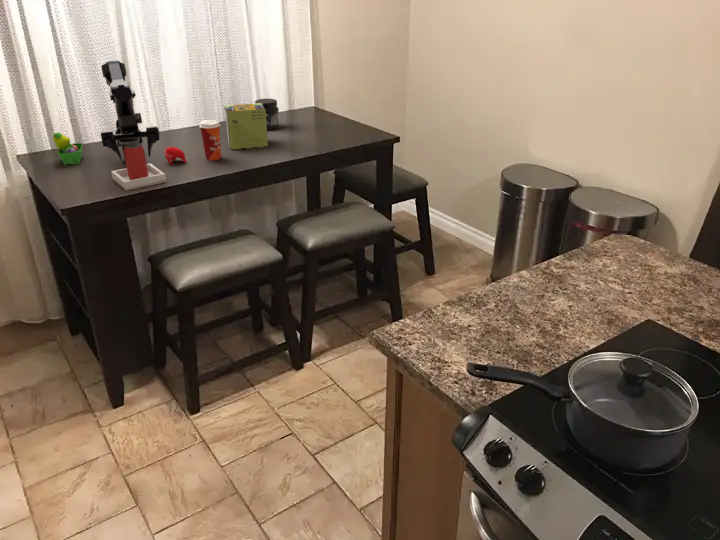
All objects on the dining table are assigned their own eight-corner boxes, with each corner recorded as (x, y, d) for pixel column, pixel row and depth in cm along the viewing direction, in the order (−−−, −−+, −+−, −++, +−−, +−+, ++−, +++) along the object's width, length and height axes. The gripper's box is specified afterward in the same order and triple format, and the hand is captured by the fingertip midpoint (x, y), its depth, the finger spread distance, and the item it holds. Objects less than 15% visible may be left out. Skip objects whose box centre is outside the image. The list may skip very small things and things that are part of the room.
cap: (161, 157, 223) (174, 149, 222) (161, 148, 227) (174, 140, 226) (176, 171, 229) (189, 163, 228) (176, 161, 233) (188, 153, 232)
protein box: (268, 146, 247) (265, 108, 239) (230, 150, 243) (226, 111, 235) (264, 139, 255) (261, 102, 248) (227, 142, 251) (223, 105, 244)
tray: (112, 179, 213) (111, 171, 211) (151, 171, 220) (150, 163, 218) (125, 190, 203) (124, 182, 201) (166, 182, 210) (165, 173, 209)
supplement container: (251, 127, 272) (249, 100, 267) (272, 123, 278) (270, 97, 272) (263, 132, 265) (261, 104, 259) (284, 128, 270) (282, 101, 265)
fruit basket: (82, 164, 226) (75, 135, 221) (56, 166, 224) (49, 136, 219) (85, 155, 236) (79, 126, 231) (61, 157, 234) (54, 128, 228)
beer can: (141, 173, 215) (135, 140, 209) (152, 177, 211) (146, 144, 206) (125, 178, 211) (118, 145, 205) (136, 183, 207) (129, 148, 201)
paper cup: (216, 162, 229) (212, 125, 222) (199, 160, 231) (194, 123, 225) (227, 156, 235) (223, 120, 229) (210, 154, 238) (206, 118, 231)
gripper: (95, 107, 199) (103, 149, 195) (154, 102, 206) (163, 143, 202) (98, 125, 209) (107, 165, 206) (154, 120, 216) (163, 159, 212)
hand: (135, 158), depth 206 cm, fingers open, 9 cm apart
